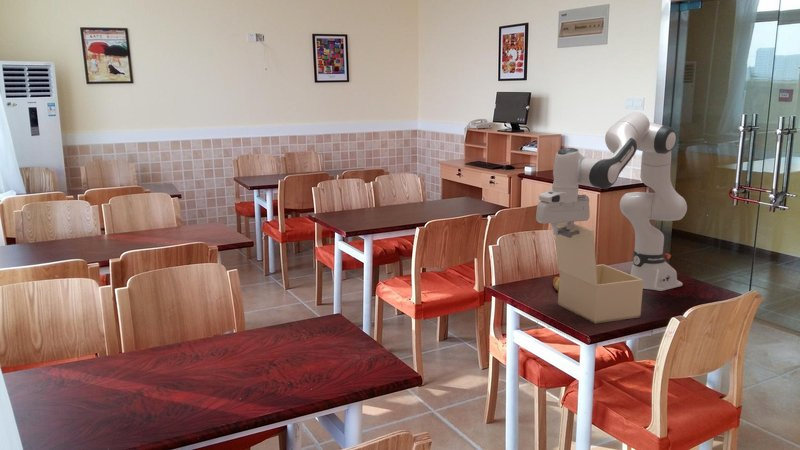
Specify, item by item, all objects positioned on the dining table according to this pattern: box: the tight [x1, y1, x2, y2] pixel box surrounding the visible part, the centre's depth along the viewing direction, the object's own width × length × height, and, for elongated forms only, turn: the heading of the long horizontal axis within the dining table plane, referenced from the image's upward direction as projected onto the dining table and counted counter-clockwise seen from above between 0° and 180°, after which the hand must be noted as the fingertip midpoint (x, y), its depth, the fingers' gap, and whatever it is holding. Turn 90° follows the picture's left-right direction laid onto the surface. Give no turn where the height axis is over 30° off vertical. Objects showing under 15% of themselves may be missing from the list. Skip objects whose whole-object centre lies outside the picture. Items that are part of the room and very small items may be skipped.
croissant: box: [552, 276, 560, 293], centre depth 265 cm, size 21×10×8 cm, turn 15°
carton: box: [557, 264, 644, 324], centre depth 241 cm, size 20×22×14 cm
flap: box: [552, 222, 597, 286], centre depth 232 cm, size 20×22×6 cm
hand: (561, 234), depth 230 cm, fingers open, 3 cm apart
